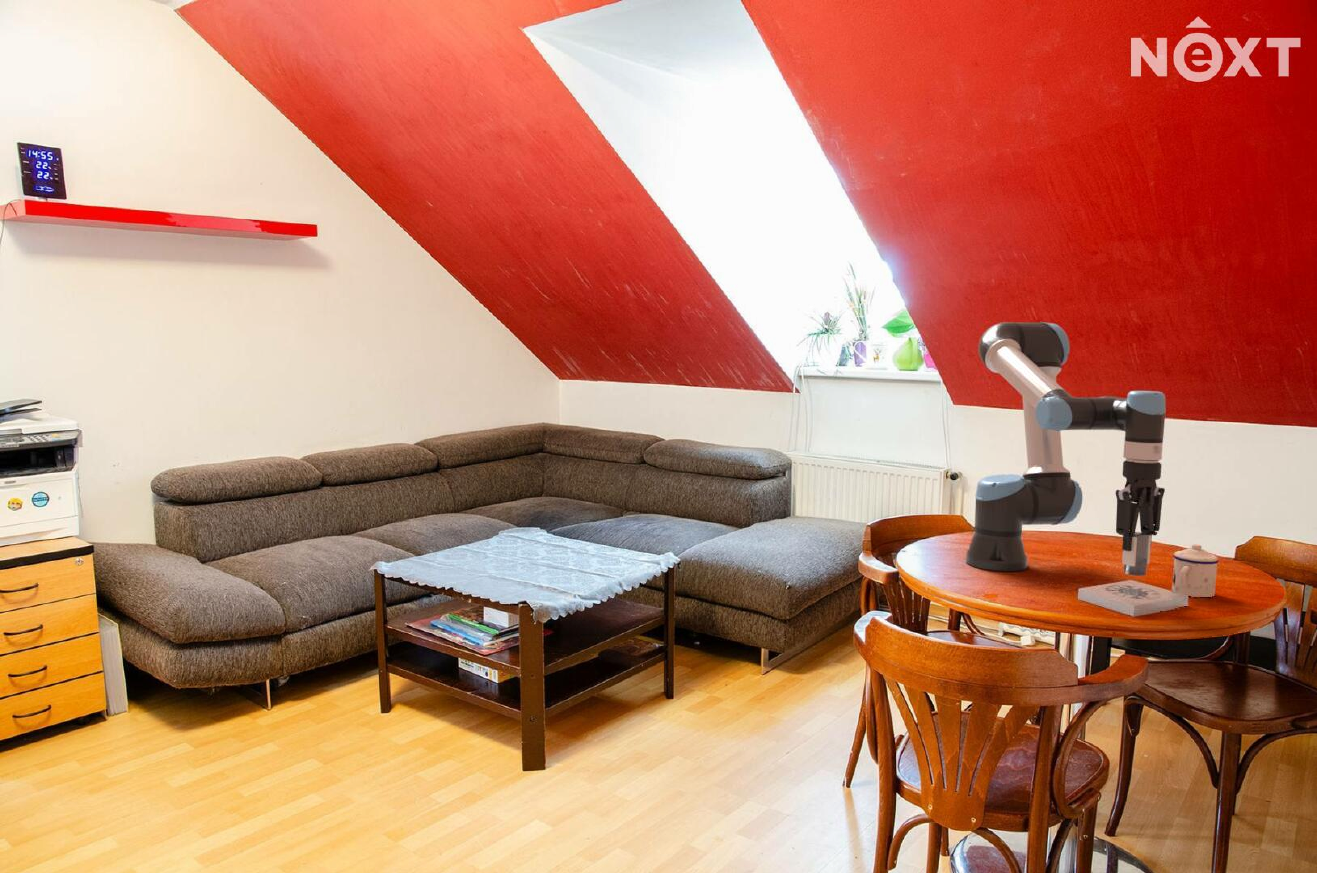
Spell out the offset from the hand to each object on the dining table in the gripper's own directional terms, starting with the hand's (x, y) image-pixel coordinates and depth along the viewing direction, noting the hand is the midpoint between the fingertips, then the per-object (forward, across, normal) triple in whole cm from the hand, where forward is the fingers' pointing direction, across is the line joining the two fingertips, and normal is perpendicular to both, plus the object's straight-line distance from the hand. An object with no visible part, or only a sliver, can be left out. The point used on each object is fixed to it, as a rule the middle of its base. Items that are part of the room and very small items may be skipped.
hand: (1135, 563), depth 201 cm
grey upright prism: (+2, 0, 0) cm, 2 cm away
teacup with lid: (+9, +19, -1) cm, 21 cm away
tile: (+9, 0, 0) cm, 9 cm away
